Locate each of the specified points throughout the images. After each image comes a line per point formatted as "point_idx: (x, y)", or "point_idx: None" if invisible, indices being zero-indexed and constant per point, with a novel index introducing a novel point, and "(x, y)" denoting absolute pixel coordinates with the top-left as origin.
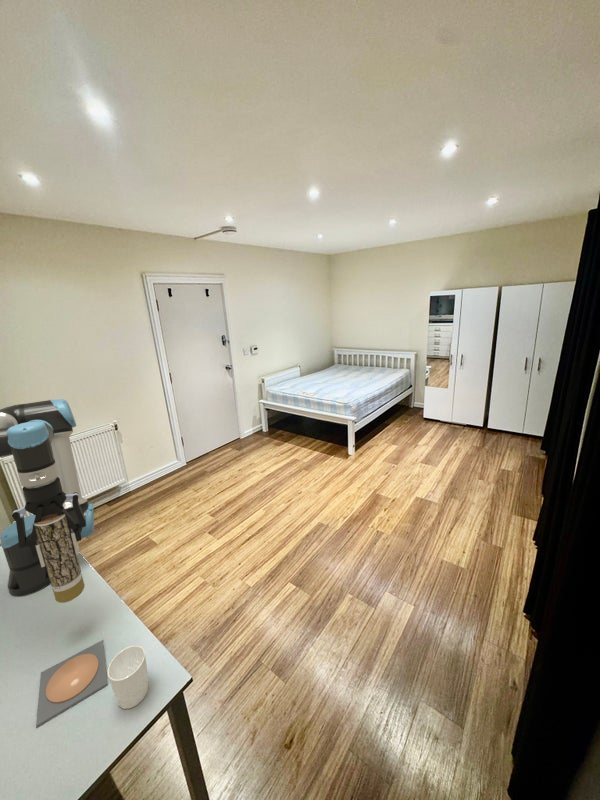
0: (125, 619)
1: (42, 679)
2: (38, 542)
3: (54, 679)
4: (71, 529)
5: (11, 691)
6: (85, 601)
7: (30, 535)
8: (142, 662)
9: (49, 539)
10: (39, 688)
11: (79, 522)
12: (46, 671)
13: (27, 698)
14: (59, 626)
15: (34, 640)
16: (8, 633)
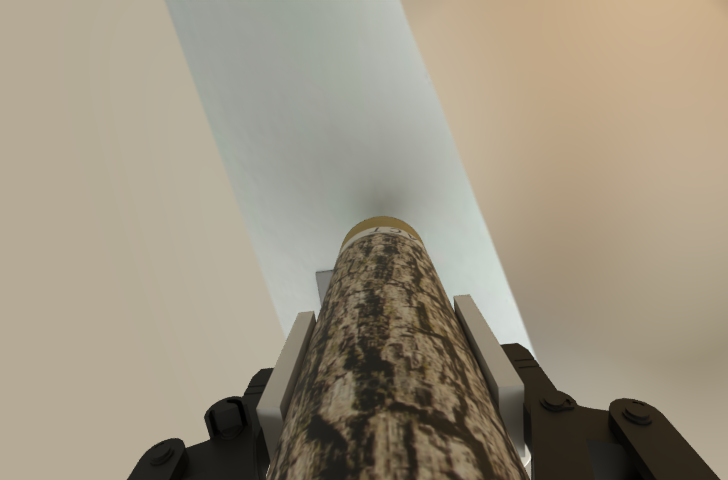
0: (473, 223)
1: (322, 292)
2: (278, 438)
3: None
4: (502, 392)
5: (272, 280)
6: (376, 95)
7: None
8: (525, 465)
9: None
10: (321, 306)
11: (609, 449)
12: (325, 277)
13: (304, 309)
14: (325, 156)
15: (277, 170)
16: (207, 108)
